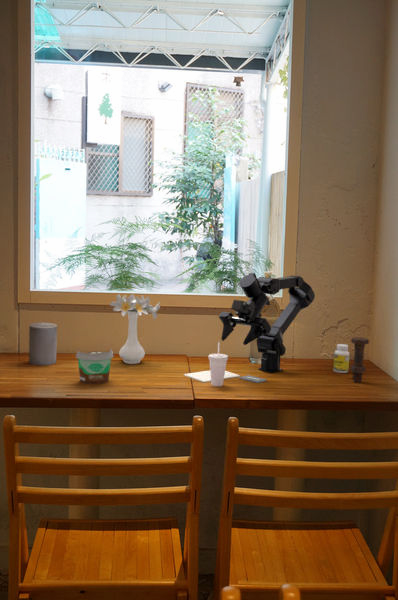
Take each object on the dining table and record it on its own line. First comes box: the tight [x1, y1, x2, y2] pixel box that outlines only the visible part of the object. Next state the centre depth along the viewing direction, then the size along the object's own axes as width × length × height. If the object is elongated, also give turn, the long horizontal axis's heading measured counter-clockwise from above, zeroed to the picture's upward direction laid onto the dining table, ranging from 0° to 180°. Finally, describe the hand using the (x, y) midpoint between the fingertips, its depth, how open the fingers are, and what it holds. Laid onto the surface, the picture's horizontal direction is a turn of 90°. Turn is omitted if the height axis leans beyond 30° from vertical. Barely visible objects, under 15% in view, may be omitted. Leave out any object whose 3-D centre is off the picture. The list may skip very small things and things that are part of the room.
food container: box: [75, 348, 114, 385], centre depth 211 cm, size 12×6×10 cm, turn 117°
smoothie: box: [208, 341, 229, 387], centre depth 214 cm, size 6×6×14 cm
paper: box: [183, 369, 241, 383], centre depth 226 cm, size 16×11×1 cm
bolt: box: [350, 337, 370, 383], centre depth 225 cm, size 6×5×15 cm
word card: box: [238, 374, 268, 384], centre depth 223 cm, size 5×8×1 cm, turn 48°
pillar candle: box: [28, 322, 58, 366], centre depth 236 cm, size 10×10×15 cm
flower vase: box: [109, 293, 161, 365], centre depth 241 cm, size 13×18×25 cm
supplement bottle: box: [332, 343, 350, 374], centre depth 240 cm, size 5×5×10 cm
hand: (232, 342), depth 218 cm, fingers open, 9 cm apart
